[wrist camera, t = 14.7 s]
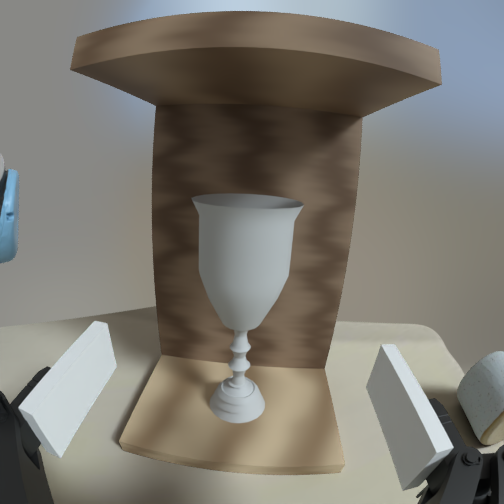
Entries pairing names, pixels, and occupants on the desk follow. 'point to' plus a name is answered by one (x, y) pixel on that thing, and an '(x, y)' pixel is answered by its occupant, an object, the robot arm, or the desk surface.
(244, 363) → the chalice
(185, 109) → the walnut shelf
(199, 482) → the desk surface
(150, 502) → the desk surface
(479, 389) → the ceramic mug
